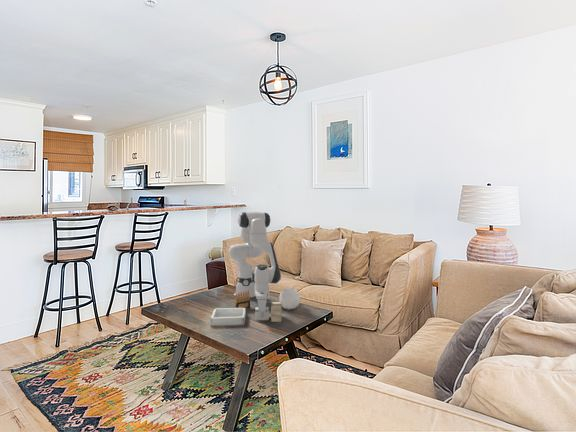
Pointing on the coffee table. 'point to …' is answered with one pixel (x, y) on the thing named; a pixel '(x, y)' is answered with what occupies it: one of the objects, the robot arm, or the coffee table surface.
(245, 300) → the ammunition clip
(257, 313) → the teal-striped white carton
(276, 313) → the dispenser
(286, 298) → the geodesic sphere
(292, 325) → the coffee table surface
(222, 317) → the tray
